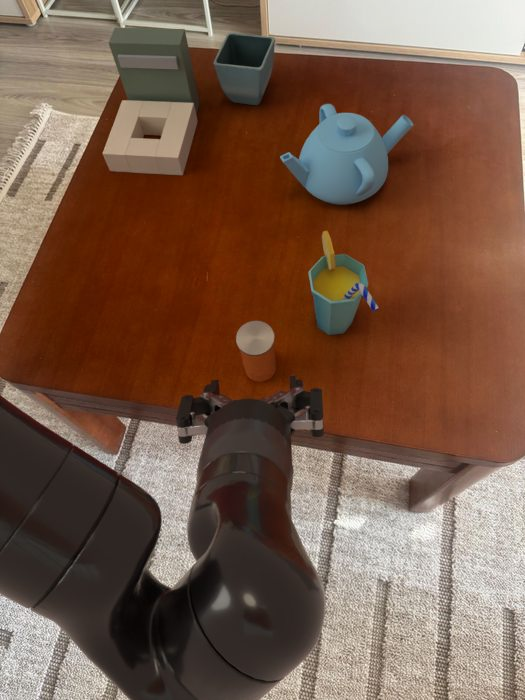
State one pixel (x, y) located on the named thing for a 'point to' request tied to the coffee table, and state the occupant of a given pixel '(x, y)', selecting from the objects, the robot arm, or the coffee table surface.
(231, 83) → the flower pot
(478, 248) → the coffee table surface
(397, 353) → the coffee table surface
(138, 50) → the green upright block
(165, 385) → the coffee table surface
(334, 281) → the cup
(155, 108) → the hollow square tile
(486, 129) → the coffee table surface
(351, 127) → the teapot
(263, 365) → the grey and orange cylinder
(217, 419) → the robot arm
